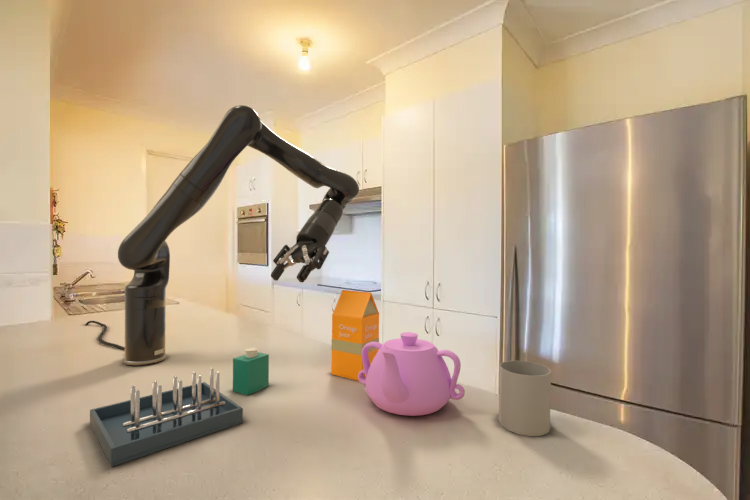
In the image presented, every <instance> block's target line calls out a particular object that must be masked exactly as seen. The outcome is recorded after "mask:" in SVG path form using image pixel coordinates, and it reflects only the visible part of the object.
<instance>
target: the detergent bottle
mask: <svg viewBox="0 0 750 500" xmlns="http://www.w3.org/2000/svg"><path fill="white" fill-rule="evenodd" d="M244 351H245V354H243V355H240V356H236V357H233V358H232V392H233V393H237V394H241V395H245V396H250V395H251V394H253V393H257V392H259V391H261V390H263V389H265V388H267V387H269V386H270V385H269V384H270V383H269V381H270V380H269V379H270V376H269V375H270V373H269V372H270V371H269V370H270V357H269V356H270V354H269V353H263V352H259V351H258V348H256V347H249V348H246V349H245V350H244Z"/></svg>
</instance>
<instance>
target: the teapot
mask: <svg viewBox="0 0 750 500" xmlns="http://www.w3.org/2000/svg"><path fill="white" fill-rule="evenodd" d="M399 334H400V338H393V339H388V340H386V341H385V342H384V343H381V342H380V341H379V342H370V343H368V344H366V345H365V346H364V347H363V349H362V353H361V356H362V363H363V367H364V370H361V371H360V372H359V374H358V380H359V381H358V380H357V381H358V382H359V383H360V384H362V385H365V387H364V388H365V393H366V395H367V396H368V398H369V399H370V400H371V401H372V402H373V403H374V405H375V406H376V407H377V408H379V409H380V410H382V411H385V412H387V413H390V414H395V415H400V416H412V417H413V416H414V417H415V416H424V415H430V414H434V413H435V412H438V411H440V410H441V409H442V408H443V407H444V406H446V404H447V403H448V402H449V401H450V399H452V400H455V401H457V400H461V399H463V398H464V397H465V392H466V391H465V388H464V386H463V385H462V384H458V380H459V376H460V372H461V367H462V364H461V360H460V357H459V356H458V355H457V354H456V353H455V352H454V351H451V350H449V349H441V350H439V349H438V348H437V346H436V345H435V344H434V343H432V341H428V340H425V339H420V338H418V337H419V334H418V333H416V332H411V331H410V332H409V331H407V332H406V331H405V332H402V333H399ZM370 347H374V348H377V349H379V351H378V353H377V354H376V356H375V357H374V359H373V361H372V363H371V365H370V363H369V358H368V349H369V348H370ZM444 357H448V358H450V359H451V360H452V361H453V365H454V368H453V373H452V377H451V372H450V370H449V367H448V365H447V363H446V362H445V361H446V360H444ZM363 374H365V376H366V378H365V377H364V376H363ZM456 390H458V392H459V393H457V392H456Z"/></svg>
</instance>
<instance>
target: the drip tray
mask: <svg viewBox="0 0 750 500" xmlns="http://www.w3.org/2000/svg"><path fill="white" fill-rule="evenodd" d="M213 398H216V388H214V387H213ZM208 399H210V384H208V383H207V382H205V381H203V382H201V401H205V400H208ZM222 401H224V402H225V405H223V406H220V407H219V414H217V415H215V410H216V408H213V416H210V410H207V411H203V412H201V420H198V421H197V413H196V421H194V422H192V415H190V416H186V417H183V418H182V425H181V426H178V419H177V427H175V428H173V421H169V422H166V423H162V432H159V433H155V434H153V433H152V427H149V428H145V429H142V430H140V438H139V439H136V440H133V441H131V433H127V429H128V428H131V426H128V427H123V423H125V422H128V421H131V399H128V400H125V401H121V402H116V403H112V404H108V405H104V406H100V407H95V408H92V409H89V425H90V427H91V429H92V432H93V434H94V435H95V438H96V440H97V442H98V443H99V445H100V447H101V449H102V451H103V453H104V455H105V457H106V459H107V460H108V463H109V465H110V466H111V468H112V467H116V466H118V465H122V464H125V463H128V462H131V461H133V460H137V459H140V458H142V457H145V456H148V455H151V454H155V453H157V452H160V451H163V450H166V449H169V448H171V447H174V446H178V445H180V444H183V443H186V442H187V443H188V442H190V441H193V440H195V439H198V438H202V437H205V436H208V435H210V434H213V433H216V432H219V431H223V430H225V429H228V428H231V427H235V426H236V425H237V426H238V425H240V424H242V423H243V422H244V409H243V407H242V406H241V405H240V404H238V403H236V402H234V401H233V400H232V399H230V398H229V397H227V396H226V395H225V394H223V393H222V392H221V391H219V402H222ZM196 403H197V383H196ZM215 403H216V402H213V404H215ZM190 404H192V384H191V385H186V386H182V407H183V406H187V405H190ZM152 405H153V394H148V395H145V396H140V418H143V417H147V416H150V415H152ZM208 405H210V403H209V404H206V405H202V406H201V407H205V406H208ZM177 408H178V388H177ZM172 409H173V389H169V390H166V391H162V412H165V411H168V410H172ZM196 409H197V407H196ZM191 410H192V409H188V410H185V411H182V413H184V412H187V411H191ZM177 414H178V413H177ZM170 416H173V414H170V415H167V416H163V417H162V419H163V418H166V417H170ZM149 422H152V420H149V421H146V422H142V423H140V425H142V424H145V423H149Z"/></svg>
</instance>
